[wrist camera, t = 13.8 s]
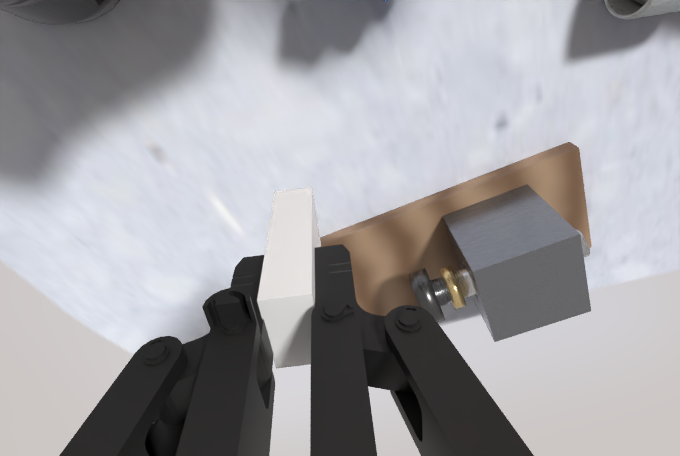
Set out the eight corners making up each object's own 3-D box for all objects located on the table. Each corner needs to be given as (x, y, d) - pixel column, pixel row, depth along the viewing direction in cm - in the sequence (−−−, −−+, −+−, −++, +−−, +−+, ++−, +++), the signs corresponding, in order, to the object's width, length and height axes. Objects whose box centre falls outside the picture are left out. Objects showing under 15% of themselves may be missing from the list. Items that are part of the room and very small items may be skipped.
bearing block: (463, 278, 54) (494, 341, 44) (442, 215, 49) (472, 271, 39) (540, 251, 52) (591, 310, 43) (527, 183, 47) (580, 234, 38)
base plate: (351, 318, 59) (353, 329, 57) (310, 241, 52) (309, 250, 50) (582, 238, 54) (591, 246, 52) (569, 141, 47) (578, 147, 46)
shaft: (419, 300, 51) (431, 336, 46) (404, 263, 48) (415, 297, 43) (570, 248, 48) (600, 280, 43) (563, 206, 45) (595, 234, 40)
